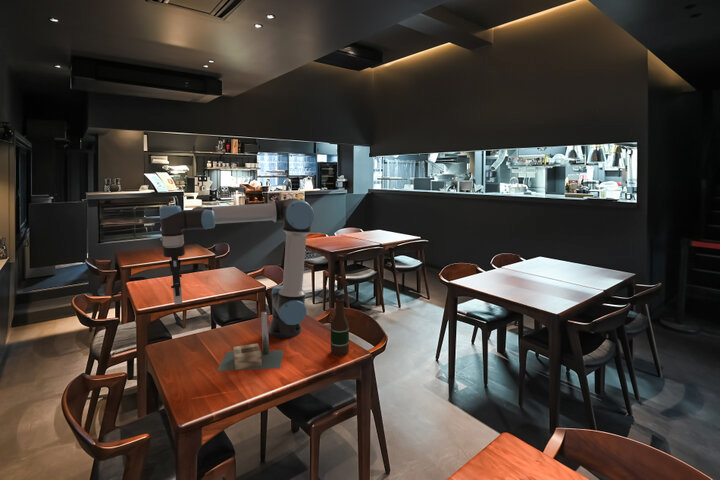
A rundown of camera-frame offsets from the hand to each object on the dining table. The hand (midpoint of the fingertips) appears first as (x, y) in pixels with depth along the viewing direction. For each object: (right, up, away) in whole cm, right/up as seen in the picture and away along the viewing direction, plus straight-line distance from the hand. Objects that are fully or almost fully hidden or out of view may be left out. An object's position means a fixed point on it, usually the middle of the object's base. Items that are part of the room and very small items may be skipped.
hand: (178, 298), depth 156 cm
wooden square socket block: (+27, -26, +3) cm, 37 cm away
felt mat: (+28, -26, +5) cm, 39 cm away
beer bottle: (+63, -25, +13) cm, 69 cm away
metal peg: (+32, -25, +11) cm, 42 cm away
